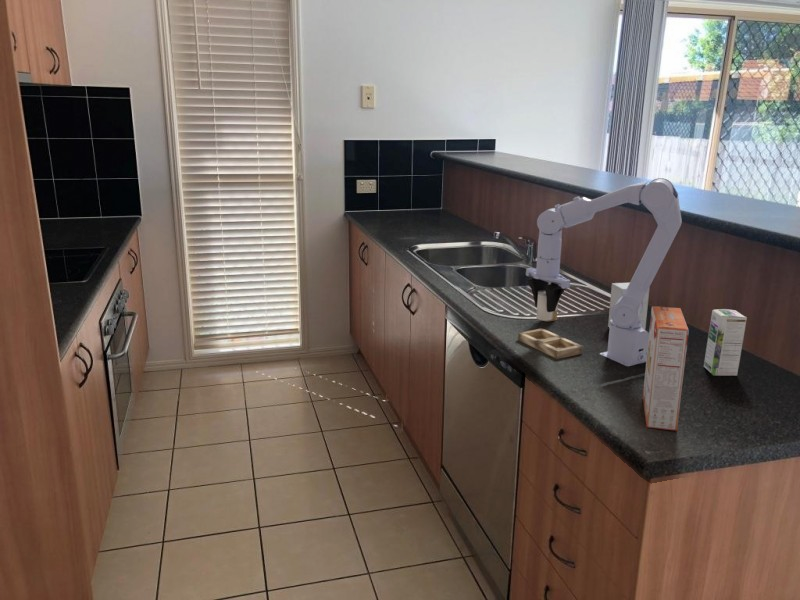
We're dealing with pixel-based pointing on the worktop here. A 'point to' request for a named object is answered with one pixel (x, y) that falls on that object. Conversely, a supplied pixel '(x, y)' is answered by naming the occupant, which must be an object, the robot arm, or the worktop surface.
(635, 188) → the robot arm
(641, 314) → the small box
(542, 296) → the salt shaker
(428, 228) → the worktop surface
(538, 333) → the caddy
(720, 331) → the syrup box
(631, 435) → the worktop surface
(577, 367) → the worktop surface
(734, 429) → the worktop surface
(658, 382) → the cracker box
